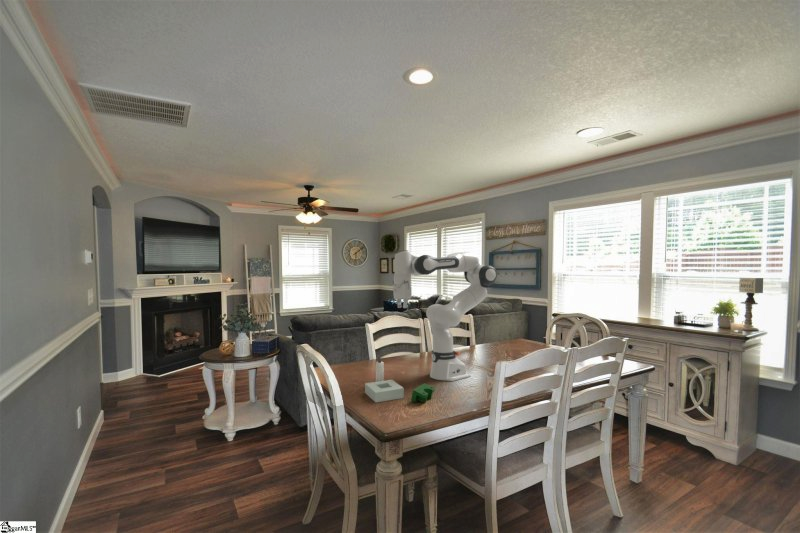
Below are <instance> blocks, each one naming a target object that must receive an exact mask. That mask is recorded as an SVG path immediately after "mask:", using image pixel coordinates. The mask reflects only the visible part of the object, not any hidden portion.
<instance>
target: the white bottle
mask: <svg viewBox="0 0 800 533" xmlns="http://www.w3.org/2000/svg"><path fill="white" fill-rule="evenodd" d="M384 365H385V362H384V361H382V358H381V357H378V358H377V361H376V362H375V382H378V381H385V371H384V370H385V366H384Z"/></svg>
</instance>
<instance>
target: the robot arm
mask: <svg viewBox="0 0 800 533" xmlns="http://www.w3.org/2000/svg"><path fill="white" fill-rule="evenodd" d="M479 261H480V260H479V257H478V256H477V254H476V253H474V252H468V251H467V252H466V251H464V252H463V251H462V252H454V253H450V254H448V255H447V256H442V257H434V256H431V255H428V254H423V255H422V254H421V255H420V256H417V255H415V254H413V253H412V252H411V251H410V250H406V249H405V250H400V251H397V252H396V253H395V254H394V261H393V263H394V264H393V268H394V269H393V270H394V274H393V280H392V283H391V284H392V286H393V287H392V289H393V290H392V291H393V293H392V294H393V299H394V300H396V304H397V308H398V309H401V308H403V309H407V308H408V303H409V300H410V299H412V296H413V295H412V276H423V275H424V276H428V275H430V274H432V273H434V272H436V271H439V270H447V271H448V272H449V273H463V276H464V279H465V281H466V282H468V284H469V283H470V285H469V286H468V287H467V288H465V289H463V290H461V291H459V292H458V293H457V294H455V295H454V296H453V297H452V300H451V301H450V302H449V303H447V304H439V303H435V304H431V305H430V306H428V307H427V309H426V311H425V312H426V314H425V315H426V318H427V319H428V321H429V325H430V330H431V335H432V336H431V337H432V350H431V368H430V374H429V377H430V378H431V379H432V380H433V379H434V380H437V381H448V382H455V381H458V380H462V379H466V378H470V377H471V373H470V372H469V371H467V366H466V364H465V363H464V362H463V361H462V360H460V359H459V358H458V357H456V356H460V351H455V350H454V336H453V334H452V332H451V329H450V328H454V327H457V326H459V324H460V323H461V319H462V317H463V316H464V315H465V314H466V313H467V312H469V311H470V310H472V309H473V308H475V307H476V306H477V305H479V304H480V303H482V302H483V301H484V300H485V299H486V298H487V296H488V290H487V288H491V287H492V285H493V283H494V282H495V281H496V280H497V277H498V273H497V270H496V268H495V267H493V265H488V264H486V265H485V264H480V263H479ZM402 300H403V304H402Z"/></svg>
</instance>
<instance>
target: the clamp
mask: <svg viewBox="0 0 800 533" xmlns="http://www.w3.org/2000/svg"><path fill="white" fill-rule="evenodd" d="M435 390H436V389H435V387H434V386H432V385H430V384H427V383H425V382H424V383H422V384H420V385H419V386H417V387H416V388H414V389H412V394H411V398H410V400H411V402H413V403H417V402H418V401H420V402H422V403H424V404H426V403H427V400H428V399H429V400H431V399H432V396H433V393H434V392H435Z"/></svg>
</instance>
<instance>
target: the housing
mask: <svg viewBox="0 0 800 533" xmlns="http://www.w3.org/2000/svg"><path fill="white" fill-rule="evenodd" d="M364 393H365V394H366V395H367V397H368V398H370V399H371V400H372V401H373V402H374V403H376V404H377V403H380V402H381V403H382V402H388V401H393V400H399V399H400V400H401V399H404V398H405V389H404V387H403V386H402V385H400V384H399V383H397V382H396V381H395V380H394V379H387V380H385V379H384V381H378V382H376V381H371V382H365V383H364Z"/></svg>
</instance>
